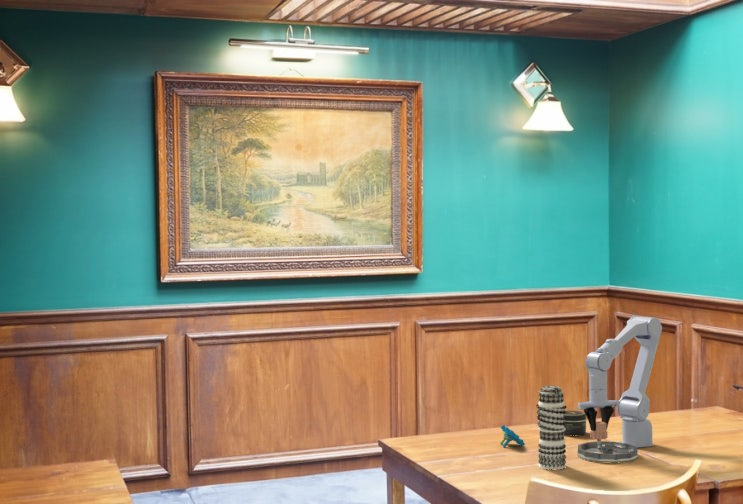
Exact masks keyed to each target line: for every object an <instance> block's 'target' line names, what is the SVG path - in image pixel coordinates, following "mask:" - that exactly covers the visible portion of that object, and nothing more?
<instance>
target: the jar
mask: <svg viewBox="0 0 743 504" xmlns="http://www.w3.org/2000/svg"><path fill="white" fill-rule="evenodd" d="M565 411H566V412H567V413H565V414H563V416H564V417H566V420H564V422H565V423H566V425H564V428H565V429H566V430H565V431H564V436H565V435H572V436H571V437H576V436H575V435H582V436H584V435H585V434H586V431H587V416H586V414H585V412H584V411H581V410H565ZM583 434H584V435H583ZM573 435H574V436H573Z"/></svg>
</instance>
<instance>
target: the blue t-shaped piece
mask: <svg viewBox="0 0 743 504" xmlns="http://www.w3.org/2000/svg"><path fill="white" fill-rule="evenodd" d="M500 429H501V430H502V432H503V439H502V440H501V441H500V442H499V444H500V445H502V447H503V448H506V447H507V446H508V444H509V443H511V442H512V441H513V442H515V443H516V445H520V446H521V447H523V446H525V445H526V443H525V442H524V440H523V439H522V438H520V436H519V435H518V434H516V433H515V431H513V430H512V429H510V428H509V427H508V426H505V425H504V424H502V425H501V426H500Z"/></svg>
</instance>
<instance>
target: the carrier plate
mask: <svg viewBox="0 0 743 504" xmlns="http://www.w3.org/2000/svg"><path fill="white" fill-rule="evenodd" d="M620 442H621V441H611V440H610V441H607V440H606V441H604V440H603V441H602V439H601V440H599V439H596V441H587V442H586V441H585V442H582V443H580V444H577V457H578V458H579V457H580V458H579V459H581V458H582V459H581V460H584V459H585V460H584V461H587V460H589V461H588V462H592V461H595V462H594V463H599V462H611V463H610V464H619V463H618V462H622V463H621V464H624V463H623V462H625V463H631V462H635V461H636V460H638V459H639V458H638V454H639V452H638V448H637V447H635V446H633V445H630V444H627V443H620Z"/></svg>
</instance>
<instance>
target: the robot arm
mask: <svg viewBox="0 0 743 504" xmlns="http://www.w3.org/2000/svg"><path fill="white" fill-rule="evenodd" d="M662 332H663V326H662V324H661V321H660V320H659V318H657V317H648V316H647V317H644V316H637V315H633V316H631V317H630V318H629V319H628V320H627V321H626V326H624V328H622V330H621V331H620V332H619V333H618V334H617V335H616V337H615V338H606V340H605V342H604V343H603V344H602V345H601V346H600V347H598V348H597V349H596V350H595V351H591V352H589V354H587V356H586V359H585V361H584V364H585V367H586V368H587V373H588V379H589V380H588V381H589V382H588V383H589V385H588V386H589V400H588V401H583V402H577V410H579V411H581V410H582V411H583V412H584V413H585V414H586V419H587V421H588V424H589V427H590V428H589V429H590V431H591V430H593V431H596V421H597V416H598V411H597V410H596V409H599V411H600V417H601V421H602V422H604V423H606V431H607V430H608V426H609V422H610V419H611V418H612V415H613V414H614V412H615V409H614V408H616V411H617V414H618V415H619V418H620V419H621V420H622V421H621V425H622V427H621V428H622V429H621V430H622V431H621V432H622V433H621V434H622V437H621V438H622V441H619V442H620V443H627V444H630V445H633V446H635V447H637V449H638V448H647V447H655V446H654V445H655V444H653V426H652V422H651V420H650V419H648V417H649V414H650V404H651V399H650V398H649V396H648V395H647V393H646V391H647V388H648V384H649V381H650V378H651V372H652V369H653V366H654V362H655V359H656V358H655V357H656V354H657V350H658V346H659V343H660V342H659V341H660V339H661V335H662ZM633 338H634V339H635V340H636V341H637V342H639V345H640V349H639V350H638V355H637V359H636V362H635V365H634V366H635V367H634V370H633V374H632V378H631V381H630V384H629V388H628V389H627V390H625V391H624V392H622V393H621V396H620V399H619V400H617V399H614V400H612V399H611V400H609V399H608V370H609V369H610V368H611V365H612V362H613V360H614V359H616V357H617V356H619V354H620V353H622V352H623V346H625V345H626V344H627V343H629V342H630V341H631V340H632V339H633ZM613 407H614V408H613Z"/></svg>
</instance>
